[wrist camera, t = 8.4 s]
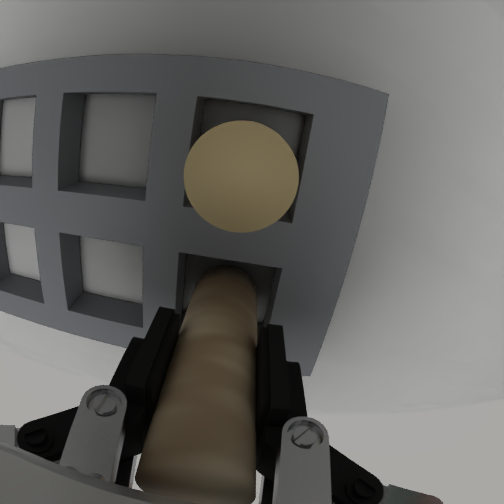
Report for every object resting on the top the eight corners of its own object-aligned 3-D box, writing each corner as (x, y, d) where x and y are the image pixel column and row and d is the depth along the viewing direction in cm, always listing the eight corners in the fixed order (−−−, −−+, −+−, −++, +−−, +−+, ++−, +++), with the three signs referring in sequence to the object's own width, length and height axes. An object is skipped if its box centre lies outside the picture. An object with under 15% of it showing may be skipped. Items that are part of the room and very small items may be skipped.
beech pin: (262, 271, 15) (266, 475, 6) (251, 324, 16) (245, 516, 7) (197, 261, 15) (127, 453, 6) (192, 315, 16) (141, 499, 7)
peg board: (372, 96, 13) (440, 88, 7) (305, 352, 18) (320, 435, 12) (-22, 79, 11) (-94, 84, 6) (-12, 285, 17) (-63, 331, 11)
